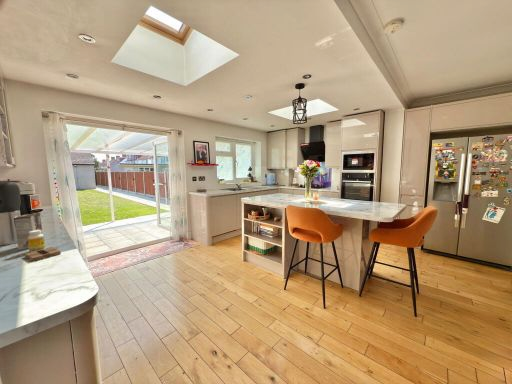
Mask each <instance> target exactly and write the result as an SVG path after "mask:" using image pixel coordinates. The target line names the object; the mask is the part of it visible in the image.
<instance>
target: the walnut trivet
mask: <svg viewBox="0 0 512 384" xmlns="http://www.w3.org/2000/svg"><path fill="white" fill-rule="evenodd" d="M61 252H62V251H61V250H60V249H57V248H55V247H52V246H50V247H45V249H42V250H37V251H33V252H30V251H29V252H25V253H24V257H25V258H27V259H28V260H29V261H31V262H37V261H40V260H44V259H49V258H51V257H52V258H53V257H54V256H55V257H56V256H59V255H61Z"/></svg>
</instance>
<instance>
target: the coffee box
mask: <svg viewBox="0 0 512 384" xmlns="http://www.w3.org/2000/svg"><path fill="white" fill-rule="evenodd" d="M20 215H21V214H20ZM14 223H15V230H16V237H17V243H16V244H17V249H18V250H25V249H26V250H27V249H29V244H28V237H29V236H30V235H29V232H30V231H34V230H41V234H43V235H44V233H43V228H42V220H41V214H40V213H26V214H22V215H21V216H18V217H15V218H14Z"/></svg>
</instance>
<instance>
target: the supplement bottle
mask: <svg viewBox="0 0 512 384" xmlns="http://www.w3.org/2000/svg"><path fill="white" fill-rule="evenodd" d="M29 235H30V236H29V237H28V244H29V248H28V250H29V252H33V251H37V250H42V249H46V243H45V236H44V233H43V234H41V230H34V231H30V232H29Z"/></svg>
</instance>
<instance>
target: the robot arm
mask: <svg viewBox="0 0 512 384" xmlns="http://www.w3.org/2000/svg"><path fill="white" fill-rule="evenodd" d="M21 198H22V197H21V190H20V187H19V185H18V184H17V183H15V182H14V181H0V200H1V203H0V246H7V245H14V244H17V237H16V230H15V223H14V218H15V217H18V216H21V210H20V207H21V204H22V201H21Z"/></svg>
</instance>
